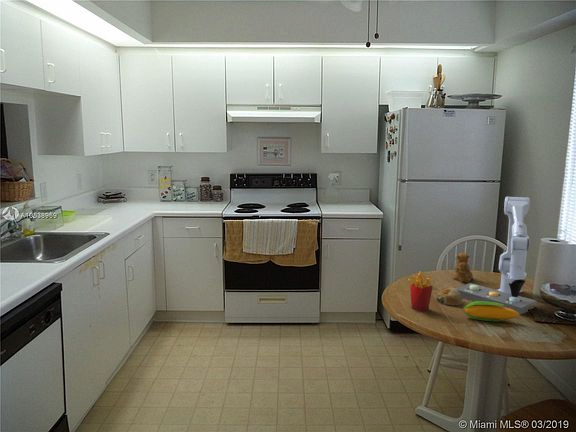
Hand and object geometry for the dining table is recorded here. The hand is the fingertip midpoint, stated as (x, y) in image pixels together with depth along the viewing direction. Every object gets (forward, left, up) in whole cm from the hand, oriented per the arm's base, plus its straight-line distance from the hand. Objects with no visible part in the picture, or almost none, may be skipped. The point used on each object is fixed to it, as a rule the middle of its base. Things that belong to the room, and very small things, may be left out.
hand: (514, 296), depth 198 cm
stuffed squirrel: (-18, -34, -5) cm, 39 cm away
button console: (0, -9, -5) cm, 10 cm away
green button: (0, -18, -3) cm, 18 cm away
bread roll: (+16, -20, -5) cm, 26 cm away
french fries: (+34, -24, -5) cm, 42 cm away
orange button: (0, -9, -4) cm, 10 cm away
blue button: (0, 0, -4) cm, 4 cm away
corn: (+22, +1, -5) cm, 22 cm away
